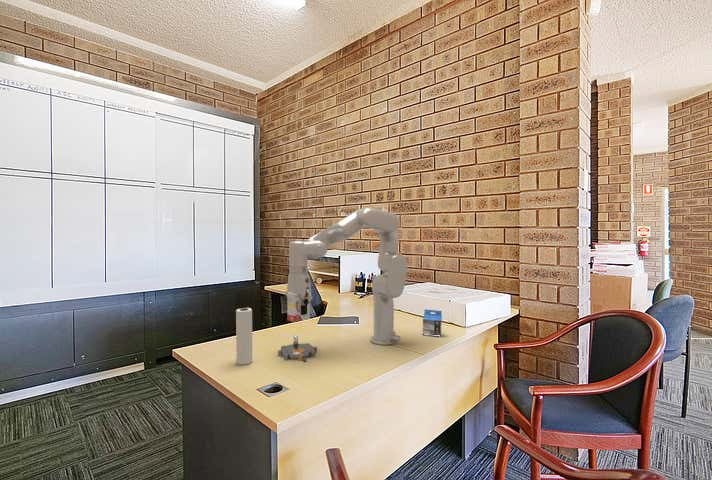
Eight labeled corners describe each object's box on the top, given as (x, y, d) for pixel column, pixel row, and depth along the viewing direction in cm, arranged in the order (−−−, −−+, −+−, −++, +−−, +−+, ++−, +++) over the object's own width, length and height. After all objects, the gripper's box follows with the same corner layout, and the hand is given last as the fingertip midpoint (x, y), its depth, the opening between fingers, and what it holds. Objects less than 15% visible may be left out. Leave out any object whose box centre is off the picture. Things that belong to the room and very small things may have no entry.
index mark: (302, 360, 145) (302, 359, 145) (305, 359, 145) (305, 359, 145) (304, 362, 143) (304, 361, 143) (307, 361, 143) (307, 361, 143)
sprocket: (312, 345, 163) (312, 332, 163) (320, 358, 147) (320, 343, 147) (276, 349, 158) (276, 335, 158) (280, 362, 142) (279, 347, 142)
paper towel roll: (243, 366, 138) (243, 311, 137) (233, 363, 141) (232, 309, 141) (257, 360, 144) (257, 308, 144) (247, 357, 147) (247, 306, 147)
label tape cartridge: (422, 335, 179) (422, 310, 178) (423, 333, 182) (424, 309, 182) (440, 337, 175) (440, 312, 175) (441, 335, 179) (441, 310, 179)
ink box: (293, 323, 145) (293, 294, 145) (286, 320, 149) (286, 292, 148) (310, 319, 152) (310, 291, 151) (303, 317, 155) (303, 289, 155)
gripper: (319, 271, 148) (320, 314, 148) (290, 268, 158) (290, 309, 158) (307, 272, 141) (307, 318, 142) (277, 269, 151) (278, 312, 152)
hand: (298, 313), depth 150 cm, fingers closed on ink box, 5 cm apart
